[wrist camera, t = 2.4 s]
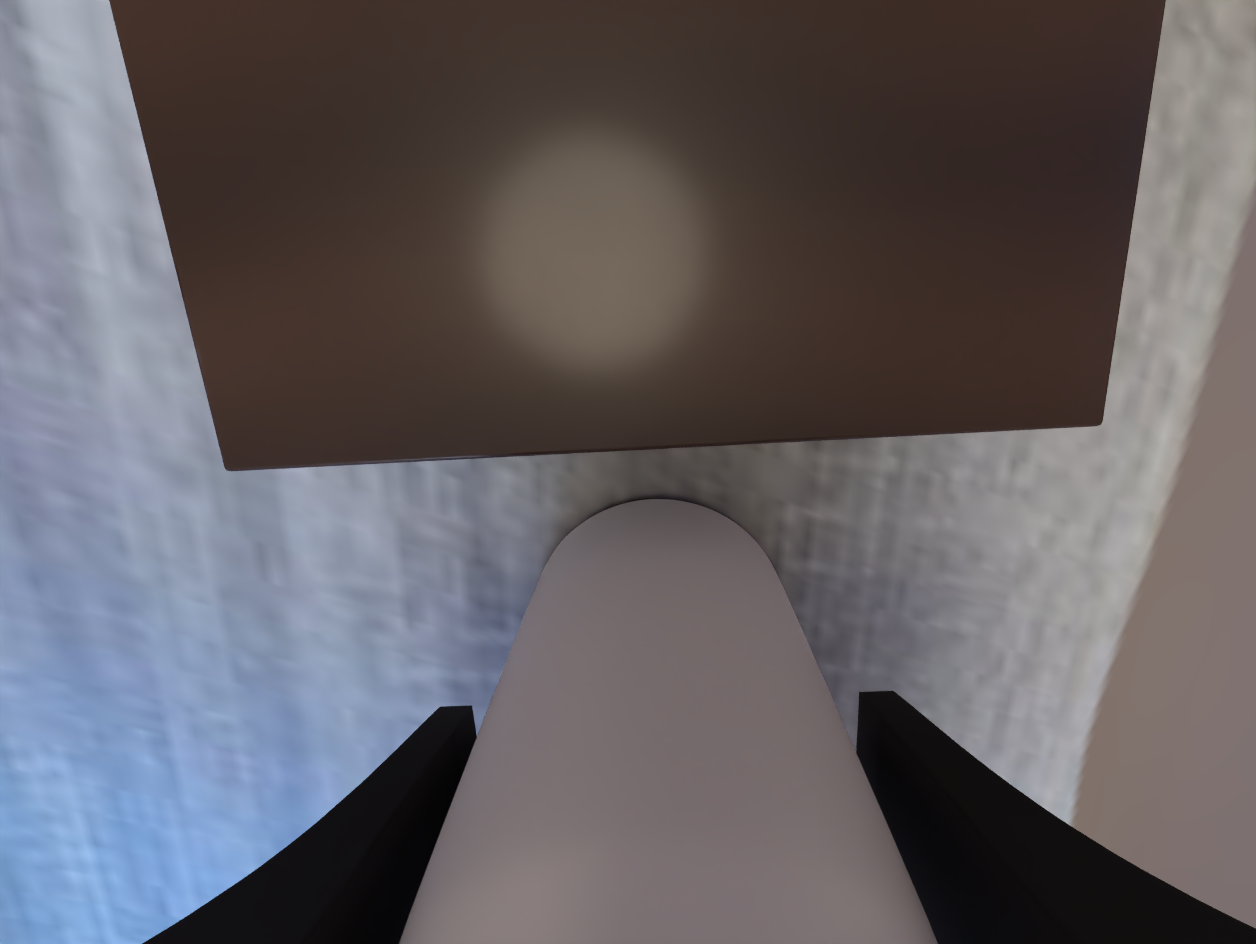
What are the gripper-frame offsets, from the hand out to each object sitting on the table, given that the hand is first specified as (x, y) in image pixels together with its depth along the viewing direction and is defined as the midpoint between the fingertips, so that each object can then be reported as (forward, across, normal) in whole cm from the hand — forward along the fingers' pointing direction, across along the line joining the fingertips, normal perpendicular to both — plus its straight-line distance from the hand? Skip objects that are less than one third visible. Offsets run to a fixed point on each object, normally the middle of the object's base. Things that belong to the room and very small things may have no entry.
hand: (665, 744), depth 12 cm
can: (+6, 0, 0) cm, 6 cm away
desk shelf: (+5, 0, -10) cm, 12 cm away
